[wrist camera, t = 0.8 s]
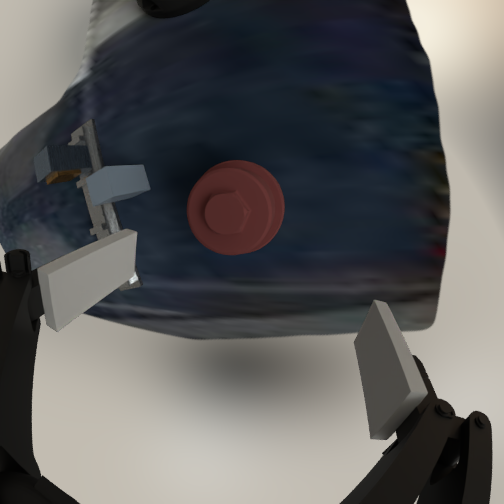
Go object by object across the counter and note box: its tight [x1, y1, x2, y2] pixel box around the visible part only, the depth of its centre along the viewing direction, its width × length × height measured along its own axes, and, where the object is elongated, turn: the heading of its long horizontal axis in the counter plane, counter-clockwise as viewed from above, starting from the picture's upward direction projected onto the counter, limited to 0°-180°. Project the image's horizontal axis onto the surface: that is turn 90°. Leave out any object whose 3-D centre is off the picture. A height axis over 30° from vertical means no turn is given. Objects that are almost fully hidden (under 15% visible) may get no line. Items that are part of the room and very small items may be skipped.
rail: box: [33, 119, 143, 291], centre depth 35 cm, size 30×5×12 cm, turn 17°
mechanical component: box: [187, 160, 285, 255], centre depth 30 cm, size 12×10×10 cm
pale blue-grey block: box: [86, 165, 150, 207], centre depth 34 cm, size 5×4×9 cm
